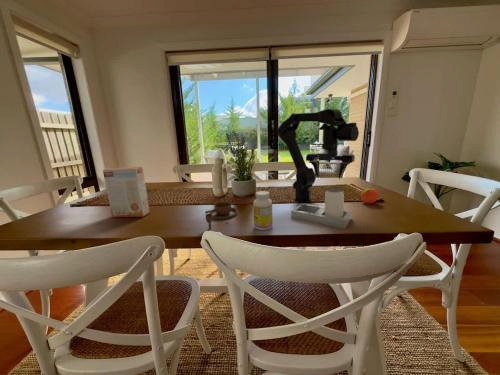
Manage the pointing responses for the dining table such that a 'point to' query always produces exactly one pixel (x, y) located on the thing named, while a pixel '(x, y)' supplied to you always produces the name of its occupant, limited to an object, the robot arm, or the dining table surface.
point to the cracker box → (126, 191)
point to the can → (334, 202)
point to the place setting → (220, 212)
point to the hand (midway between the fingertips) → (328, 177)
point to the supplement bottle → (262, 211)
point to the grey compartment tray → (320, 215)
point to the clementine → (369, 195)
